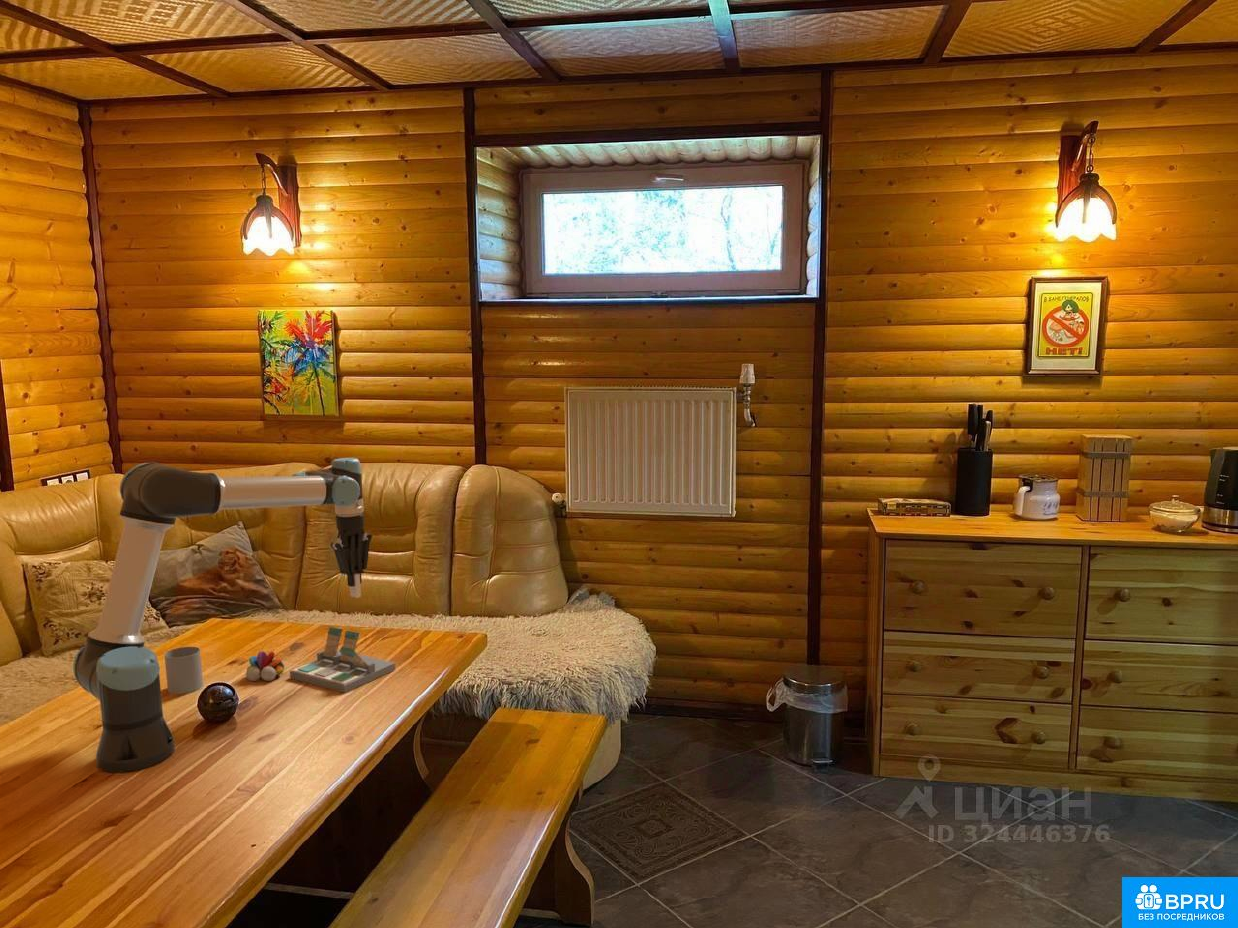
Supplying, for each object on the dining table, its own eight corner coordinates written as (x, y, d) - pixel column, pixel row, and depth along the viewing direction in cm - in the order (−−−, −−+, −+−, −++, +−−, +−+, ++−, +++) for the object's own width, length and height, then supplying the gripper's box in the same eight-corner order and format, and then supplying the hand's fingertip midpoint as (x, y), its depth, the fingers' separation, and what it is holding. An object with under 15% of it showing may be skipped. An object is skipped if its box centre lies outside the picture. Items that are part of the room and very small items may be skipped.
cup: (209, 682, 234) (206, 646, 233) (191, 694, 226) (188, 658, 225) (179, 681, 235) (176, 646, 234) (160, 694, 227) (157, 657, 226)
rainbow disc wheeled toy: (277, 683, 234) (275, 657, 233) (241, 683, 234) (239, 657, 233) (289, 671, 242) (287, 645, 241) (255, 671, 242) (253, 646, 241)
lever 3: (368, 671, 235) (350, 653, 229) (356, 668, 237) (338, 650, 231) (370, 666, 236) (353, 649, 230) (359, 663, 238) (341, 646, 232)
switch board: (345, 692, 226) (344, 677, 225) (290, 678, 237) (289, 663, 236) (395, 669, 241) (394, 655, 241) (341, 656, 252) (340, 642, 251)
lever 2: (348, 665, 238) (356, 632, 239) (337, 662, 240) (345, 630, 242) (352, 665, 239) (360, 632, 241) (341, 662, 241) (348, 630, 243)
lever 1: (332, 661, 241) (339, 628, 243) (321, 658, 243) (328, 626, 245) (335, 661, 242) (343, 629, 244) (324, 658, 244) (332, 626, 246)
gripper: (340, 519, 233) (346, 604, 237) (377, 510, 244) (382, 592, 248) (321, 517, 237) (327, 600, 241) (358, 508, 248) (364, 588, 252)
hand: (355, 596), depth 244 cm, fingers closed
